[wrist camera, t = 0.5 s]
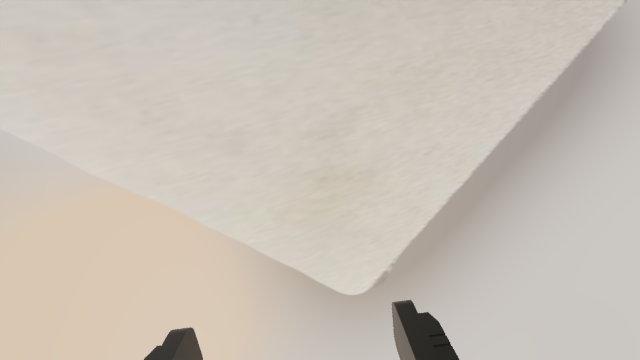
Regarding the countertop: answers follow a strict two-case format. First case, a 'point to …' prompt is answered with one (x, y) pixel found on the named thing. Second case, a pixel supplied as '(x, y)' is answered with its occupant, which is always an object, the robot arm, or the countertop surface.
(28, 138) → the countertop surface
